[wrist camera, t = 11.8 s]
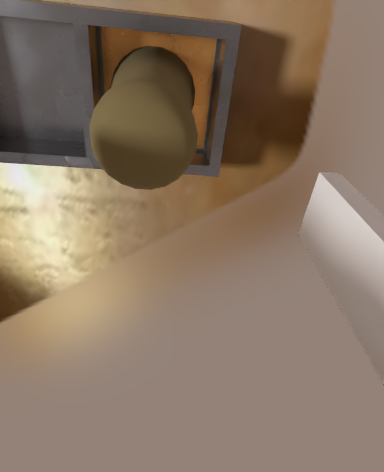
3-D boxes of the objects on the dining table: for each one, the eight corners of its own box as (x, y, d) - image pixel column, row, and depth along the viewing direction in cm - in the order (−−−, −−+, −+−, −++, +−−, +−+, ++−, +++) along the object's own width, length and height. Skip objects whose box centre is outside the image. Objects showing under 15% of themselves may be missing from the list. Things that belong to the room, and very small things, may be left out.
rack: (231, 21, 22) (241, 25, 19) (212, 158, 28) (218, 179, 25) (-213, -29, 20) (-290, -35, 16) (-135, 133, 25) (-180, 152, 22)
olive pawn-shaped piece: (207, 117, 25) (226, 182, 16) (135, 147, 26) (116, 224, 17) (175, 29, 21) (177, 49, 12) (94, 68, 22) (42, 112, 13)
